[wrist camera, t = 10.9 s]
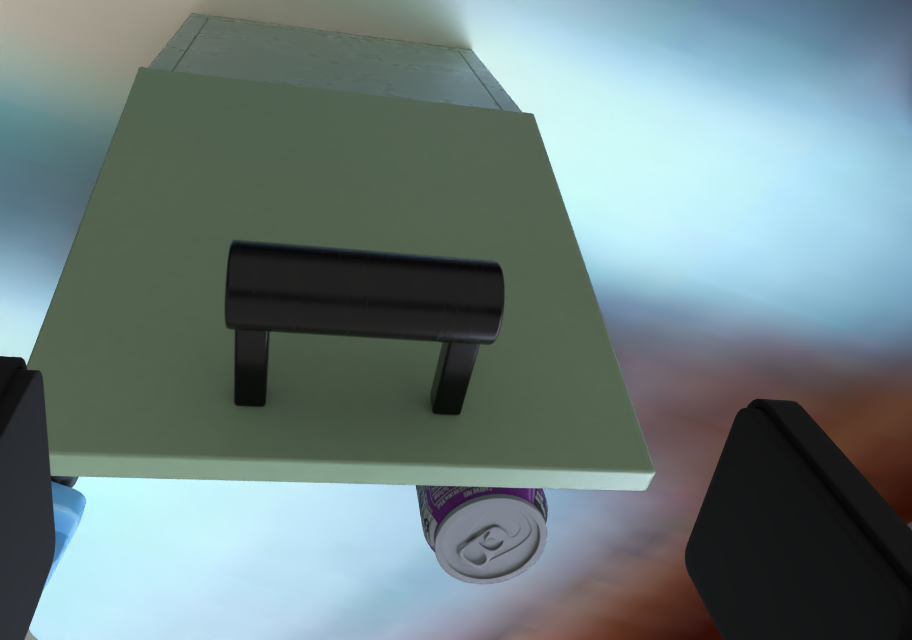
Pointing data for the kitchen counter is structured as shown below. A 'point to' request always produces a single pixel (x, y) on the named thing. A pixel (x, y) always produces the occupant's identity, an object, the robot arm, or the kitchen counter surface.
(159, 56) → the green box
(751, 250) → the kitchen counter surface
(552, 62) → the kitchen counter surface
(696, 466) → the kitchen counter surface
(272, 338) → the green box lid
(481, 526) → the beverage can
